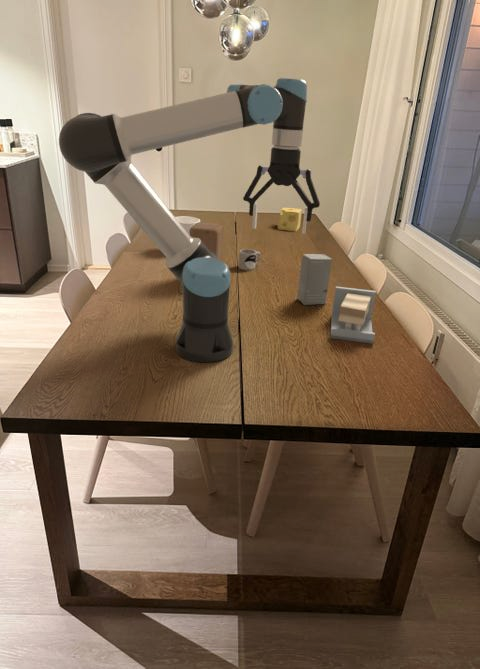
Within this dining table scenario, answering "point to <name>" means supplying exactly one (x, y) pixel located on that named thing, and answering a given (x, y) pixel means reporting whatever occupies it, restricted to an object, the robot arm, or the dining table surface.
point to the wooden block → (209, 236)
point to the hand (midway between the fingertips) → (278, 230)
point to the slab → (354, 308)
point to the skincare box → (314, 279)
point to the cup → (187, 222)
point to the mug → (248, 259)
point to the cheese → (289, 219)
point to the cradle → (349, 329)
